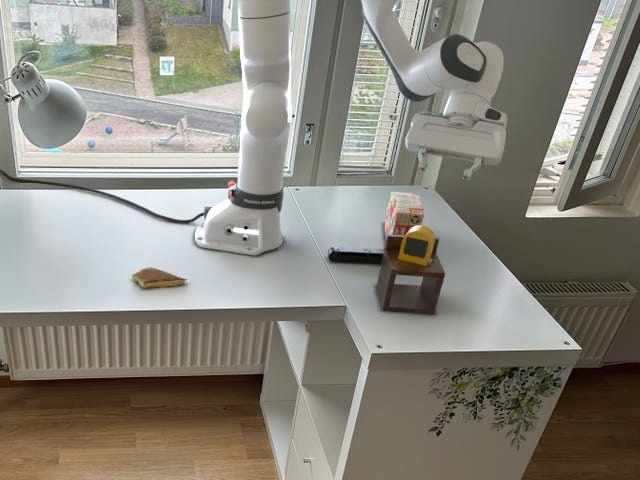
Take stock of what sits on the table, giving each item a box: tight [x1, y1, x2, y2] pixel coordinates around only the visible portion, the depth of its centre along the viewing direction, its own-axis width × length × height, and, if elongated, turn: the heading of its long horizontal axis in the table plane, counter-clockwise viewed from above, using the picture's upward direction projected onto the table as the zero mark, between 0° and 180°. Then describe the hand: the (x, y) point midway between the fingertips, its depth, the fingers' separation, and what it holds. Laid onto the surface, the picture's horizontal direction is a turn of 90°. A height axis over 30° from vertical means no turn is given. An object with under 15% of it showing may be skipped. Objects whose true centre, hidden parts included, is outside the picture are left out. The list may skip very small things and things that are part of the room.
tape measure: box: [398, 224, 436, 266], centre depth 146 cm, size 7×4×7 cm, turn 60°
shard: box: [131, 266, 188, 289], centre depth 157 cm, size 11×8×2 cm
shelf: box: [376, 234, 446, 315], centre depth 150 cm, size 11×11×13 cm
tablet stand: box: [327, 246, 384, 265], centre depth 168 cm, size 18×3×3 cm, turn 86°
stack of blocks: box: [384, 191, 425, 240], centre depth 176 cm, size 21×6×12 cm, turn 168°
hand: (443, 174), depth 148 cm, fingers open, 8 cm apart
